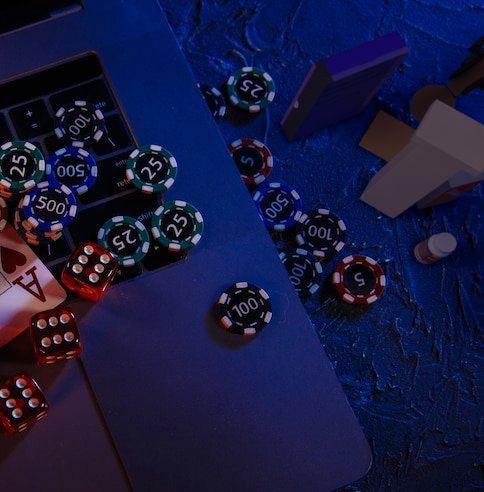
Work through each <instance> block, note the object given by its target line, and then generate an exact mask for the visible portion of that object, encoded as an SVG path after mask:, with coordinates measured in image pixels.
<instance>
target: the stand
mask: <svg viewBox="0 0 484 492" xmlns="http://www.w3.org/2000/svg"><path fill="white" fill-rule="evenodd" d="M415 130H416V131H415V133H414V134H413V136H412V138H411V139H410V140H411V142H410V143H409V144H408V145H406V146H405V147H404V148H403V149H402V150H401V151H400V152H399V153H398V154H397V155H396V156H395V157H394V158H392V159H391V160H390V161H389V162H387V163H386V164H385V165H384V166H383V167H382V168H380V169H379V170H378V171H377V172H376V173H375V174H374V175H373V176H372V177H371V179H370V180H369V182H368V183H367V185H366V187H365V189H364V190H363V192H362V193H361V195H360V197H359V200H361V201H362V202H364V203H366V204H367V205H368V206H371V207H372V208H374V209H376V210H378V211H379V212H381V213H382V214H384V215H385V216H388V217H389V218H391V219H395V218H396V217H398V216H399V215H400V214H402V213H404V212H405V211H406V210H407V209H409V208H410V207H412V206H413V205H414V204H416V202H417V201H419V200H420V199H421V198H423V197H424V196H426V195H427V194H428V193H430V192H431V191H433V190H434V189H435V188H437V187H438V186H440V185H441V184H442V183H444V182H445V181H447V180H448V179H449V178H451V177H452V176H454V175H455V174H456V173H458V172H459V171H461V170H464V171H465V172H467V173H469V174H471V175H472V176H474V177H476V176H477V175H479V174H480V173H482V172H483V170H484V124H483V123H481V122H479V121H477V120H475V119H474V118H472V117H469V116H468V115H466V114H464V113H462V112H461V111H459V110H457V109H455V107H454V108H452V107H450V106H448V105H446V104H444V103H443V102H441V101H439V100H437V99H436V100H435V101H434V102H433V103H432V104H431V106H430V107H429V109H428V111H427V112H426V114H425V116H424V117H423V119H422V121H421V123H420V122H419V125H418V126H417V128H416V129H415Z"/></svg>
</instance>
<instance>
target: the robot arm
mask: <svg viewBox="0 0 484 492" xmlns="http://www.w3.org/2000/svg"><path fill="white" fill-rule="evenodd" d="M483 46H484V34H483V35H482V36H481V37H479V38H478V39H476V40H475V41H474V42H473V43H472V44H471V45H470V46H469V48H468V49H467V50H468V52H469V53H471V54H470V55H468V56H467V57H464V59H463V60H462V61H461V62H460V64H459V65H460V67H459V68H457V69H454V71H453V72H452V73H451V74H450V75H449V76H448V77H447V79H448V81H449V82H451V81H452V80H454V79H455V78H456V77H458V76H459V75H461V74H462V73H464V72H465V71H466V70H468V69H469V68H471V67H472V66H473V65H475V64H476V63H478V62H479V61H480V60H482V59H483V58H484V47H483ZM478 88H479V89H480V90H481V91H484V77H482V78H480V79H479V80H477V81H475V82H474V83H472V84H470V85H469V86H468V87H467V88H465V89H464V90H463V91H462V92H461V95H460V96H462V97H464V96H466V95H468V94H469V93H471V92H472V91H475V90H476V89H478Z"/></svg>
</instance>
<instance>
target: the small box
mask: <svg viewBox="0 0 484 492" xmlns="http://www.w3.org/2000/svg"><path fill="white" fill-rule="evenodd" d="M483 182H484V170H483V172H482V173H480V174H479V175H477V176H476V177H474V176H472V175H471V174H469V173H467V172H465V171H464V170H461V171H459V172H458V173H456V174H455V175H454V176H452V177H451V178H449V179H448V180H447V181H445V182H444V183H442V184H441V185H440V186H438V187H437V188H435V189H434V190H433V191H431V192H430V193H428V194H427V195H426V196H424V197H423V198H421V199H420V200H419V201H417V202H416V203H415V204H416V207H417V210H423V209H426V208H429V207H434V206H437V205H441V204H445V203H450V202H453V201H455V200H456V199H457V198H459V197H461V196H462V195H464V194H466V193H467V192H469V191H471V190H472V189H473V188H475V187H477V186H479V185H480V184H482V183H483Z"/></svg>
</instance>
